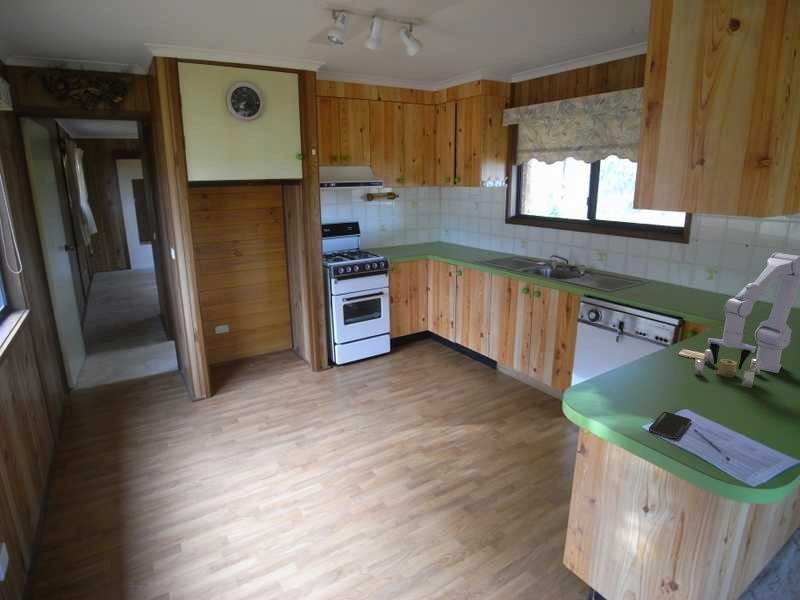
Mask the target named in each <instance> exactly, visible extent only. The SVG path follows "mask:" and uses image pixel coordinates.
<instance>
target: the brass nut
mask: <svg viewBox="0 0 800 600" xmlns="http://www.w3.org/2000/svg"><path fill="white" fill-rule="evenodd" d="M737 364H738V362H737V361H736V360H731V359H726V358H721V359H720V360H719V361H718V367H717V374H718V375H721V376H723V377H727V378H734V377H735V375H736V371H737Z"/></svg>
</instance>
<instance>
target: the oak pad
mask: <svg viewBox="0 0 800 600" xmlns="http://www.w3.org/2000/svg"><path fill="white" fill-rule="evenodd" d="M704 354H705V352H704V353H703V352H699V351H694V350H690V349H689V350H688V349H683V348H682V350H680V351H679V352H678V354H677V356H680V357H683V356H684V357H685V358H688V357H689V358H688V359H693V358H695V359H694V360H696V359H700V360H704Z"/></svg>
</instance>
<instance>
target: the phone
mask: <svg viewBox="0 0 800 600" xmlns="http://www.w3.org/2000/svg"><path fill="white" fill-rule="evenodd" d="M691 424H692V419H690V418H688V417H685V416H682V415H678V414H675V413H671V412H668V411H663V412H662V413H661V414H660V415H659V416H658V417H657V418H656V419H655V420H654V422H653V423H652V424H650V426H649V427H648V432H650V433H652V434H655V433H656V434H655V435H658V434H659V435H658V436H661V435H663V436H662V437H664V436H666V437H665V438H667V437H668V438H667V439H670V438H671V439H670V440H673V439H674V441H677V440H676V439H678V440H680V438H681V437H682V436H683V434H684V433H685V432H686V430H687V429H688V428H687V427H689V426H690V425H691ZM684 431H685V432H684ZM683 432H684V433H683ZM680 436H681V437H680ZM679 437H680V438H679Z"/></svg>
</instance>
